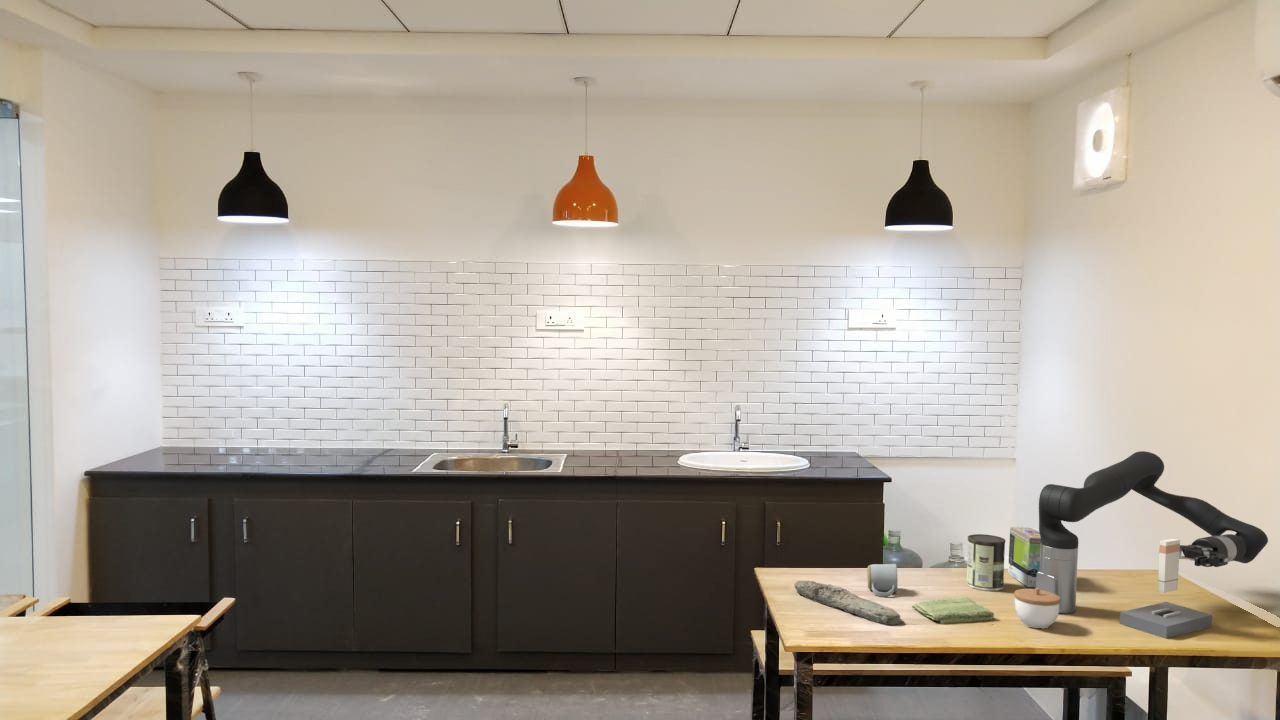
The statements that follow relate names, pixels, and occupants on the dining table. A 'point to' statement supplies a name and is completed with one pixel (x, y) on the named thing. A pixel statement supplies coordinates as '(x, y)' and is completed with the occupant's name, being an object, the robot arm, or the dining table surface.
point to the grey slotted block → (1166, 619)
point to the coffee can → (985, 562)
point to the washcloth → (953, 610)
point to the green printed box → (1024, 554)
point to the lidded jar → (1036, 607)
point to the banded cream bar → (1168, 565)
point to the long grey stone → (847, 602)
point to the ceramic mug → (882, 579)
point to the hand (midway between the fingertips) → (1178, 557)
